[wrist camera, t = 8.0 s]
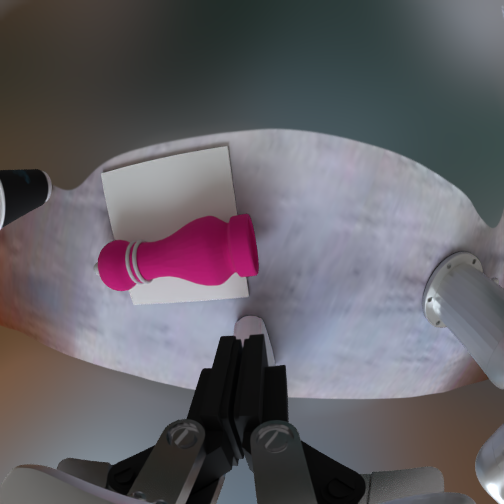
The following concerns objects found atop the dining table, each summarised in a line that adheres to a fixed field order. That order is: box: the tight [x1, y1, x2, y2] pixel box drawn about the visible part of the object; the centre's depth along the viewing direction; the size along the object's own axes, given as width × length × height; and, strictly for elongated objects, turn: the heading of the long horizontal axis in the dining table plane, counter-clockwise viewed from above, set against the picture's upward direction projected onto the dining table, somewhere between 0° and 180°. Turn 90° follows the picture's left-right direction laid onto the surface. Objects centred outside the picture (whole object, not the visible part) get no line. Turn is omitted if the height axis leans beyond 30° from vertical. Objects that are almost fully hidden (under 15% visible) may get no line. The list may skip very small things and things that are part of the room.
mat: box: [101, 146, 249, 305], centre depth 32 cm, size 16×18×1 cm
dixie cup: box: [0, 169, 52, 230], centre depth 25 cm, size 8×8×11 cm
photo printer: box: [233, 316, 275, 366], centre depth 31 cm, size 10×4×12 cm, turn 13°
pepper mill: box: [94, 214, 259, 291], centre depth 29 cm, size 7×7×20 cm
